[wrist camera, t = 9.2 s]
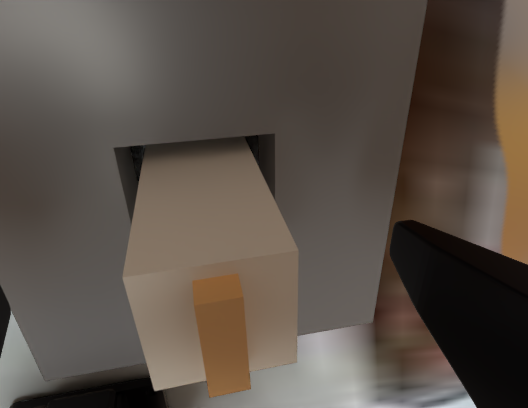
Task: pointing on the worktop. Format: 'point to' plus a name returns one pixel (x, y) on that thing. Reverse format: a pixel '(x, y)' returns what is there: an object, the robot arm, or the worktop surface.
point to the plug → (210, 267)
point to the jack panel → (190, 129)
